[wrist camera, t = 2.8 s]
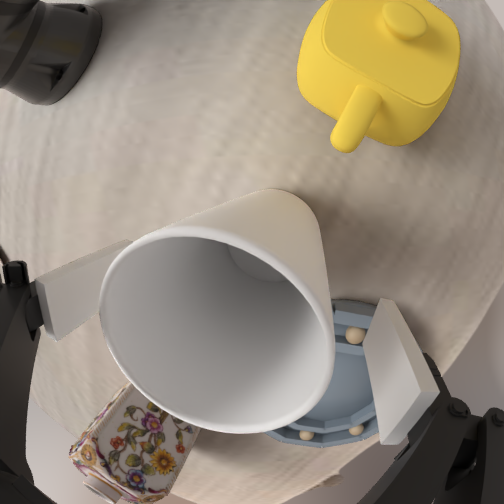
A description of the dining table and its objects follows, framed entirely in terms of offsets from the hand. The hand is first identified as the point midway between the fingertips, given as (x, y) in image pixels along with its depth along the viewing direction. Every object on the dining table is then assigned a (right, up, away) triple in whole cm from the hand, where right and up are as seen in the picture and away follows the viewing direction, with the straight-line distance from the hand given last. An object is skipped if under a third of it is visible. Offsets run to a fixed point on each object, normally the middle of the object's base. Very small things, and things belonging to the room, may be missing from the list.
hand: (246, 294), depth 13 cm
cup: (+2, +3, +10) cm, 11 cm away
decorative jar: (-14, -21, +21) cm, 33 cm away
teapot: (+10, +17, +4) cm, 20 cm away
